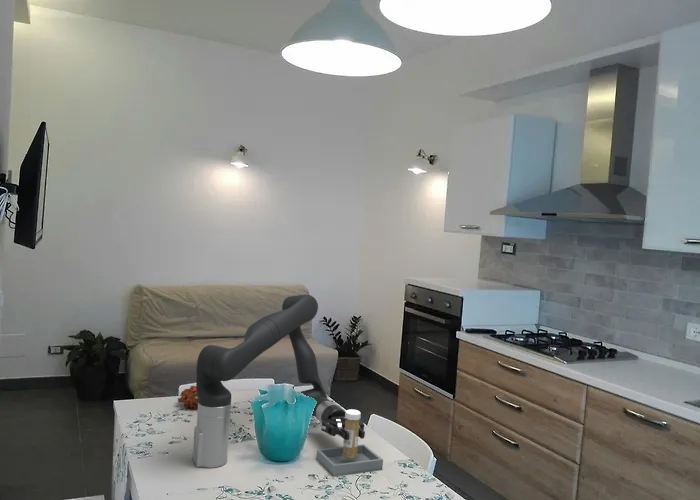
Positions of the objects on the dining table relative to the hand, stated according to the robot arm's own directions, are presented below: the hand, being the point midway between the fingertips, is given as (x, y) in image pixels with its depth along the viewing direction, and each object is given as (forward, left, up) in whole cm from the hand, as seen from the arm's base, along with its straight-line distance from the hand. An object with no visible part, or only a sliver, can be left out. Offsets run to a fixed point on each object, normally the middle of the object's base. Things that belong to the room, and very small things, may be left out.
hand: (355, 436), depth 170 cm
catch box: (0, +3, -9) cm, 10 cm away
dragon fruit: (-34, +64, -10) cm, 73 cm away
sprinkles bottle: (0, +3, -7) cm, 8 cm away
